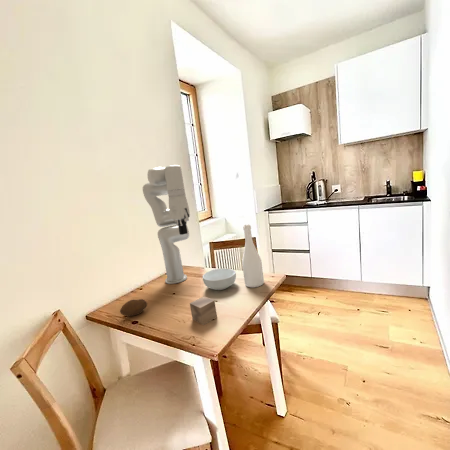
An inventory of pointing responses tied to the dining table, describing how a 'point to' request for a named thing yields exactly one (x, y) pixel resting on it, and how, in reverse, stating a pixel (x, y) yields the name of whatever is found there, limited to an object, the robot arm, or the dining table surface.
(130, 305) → the potato
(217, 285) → the cereal bowl
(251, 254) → the wine bottle
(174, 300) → the dining table surface
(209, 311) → the cube
